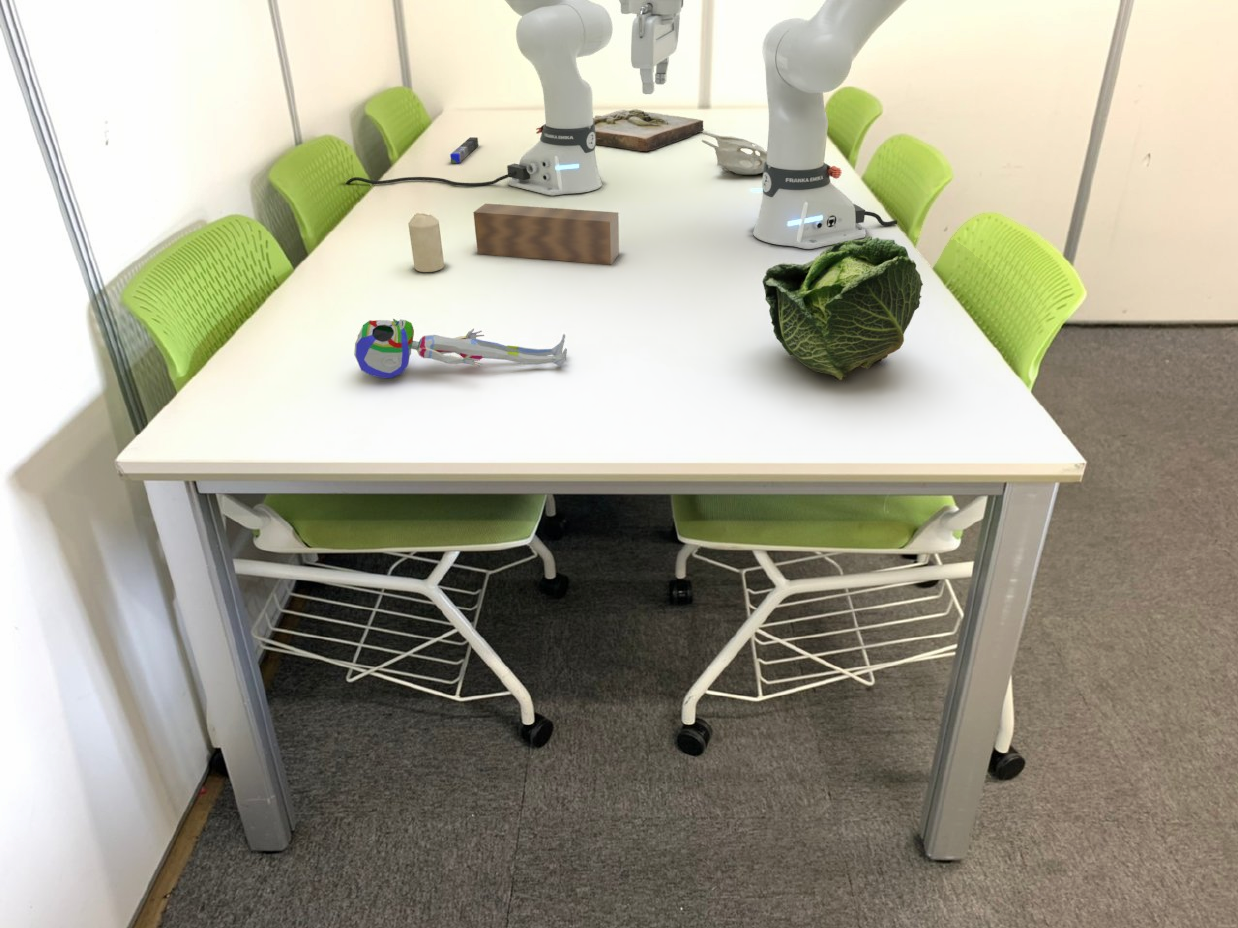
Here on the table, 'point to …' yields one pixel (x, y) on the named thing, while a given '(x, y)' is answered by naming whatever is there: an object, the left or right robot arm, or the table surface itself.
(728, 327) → the table surface
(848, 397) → the table surface
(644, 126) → the plaque
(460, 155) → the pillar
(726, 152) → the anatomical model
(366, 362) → the toy
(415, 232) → the candle
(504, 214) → the bar
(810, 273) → the vegetable
